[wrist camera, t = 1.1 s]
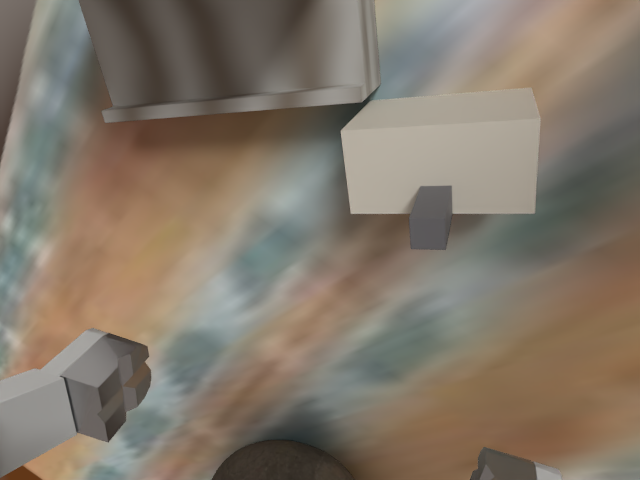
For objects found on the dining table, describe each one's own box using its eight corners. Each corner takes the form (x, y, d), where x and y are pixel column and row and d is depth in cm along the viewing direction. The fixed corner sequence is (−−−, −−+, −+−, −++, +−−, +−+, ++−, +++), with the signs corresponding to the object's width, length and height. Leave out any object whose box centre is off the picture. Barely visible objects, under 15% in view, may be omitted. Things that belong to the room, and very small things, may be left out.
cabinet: (531, 87, 35) (548, 144, 24) (527, 166, 38) (540, 251, 26) (370, 100, 39) (316, 154, 28) (377, 170, 42) (330, 247, 30)
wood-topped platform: (366, -89, 33) (259, -138, 18) (381, 83, 38) (305, 155, 23) (111, -34, 41) (-114, -37, 26) (151, 105, 46) (-18, 170, 31)
